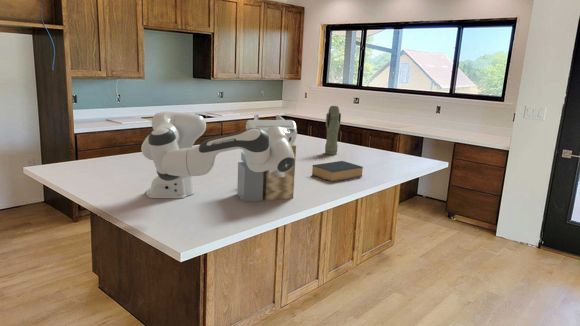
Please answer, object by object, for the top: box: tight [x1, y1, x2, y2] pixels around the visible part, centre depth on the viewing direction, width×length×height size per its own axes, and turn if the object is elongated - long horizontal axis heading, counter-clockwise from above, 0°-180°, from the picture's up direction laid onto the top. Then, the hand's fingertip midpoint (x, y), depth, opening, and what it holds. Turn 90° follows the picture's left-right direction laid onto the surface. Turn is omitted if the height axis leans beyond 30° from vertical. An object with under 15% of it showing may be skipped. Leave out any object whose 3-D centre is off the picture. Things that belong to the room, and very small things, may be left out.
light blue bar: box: [240, 151, 263, 173], centre depth 205 cm, size 4×26×4 cm, turn 20°
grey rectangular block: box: [236, 161, 263, 203], centre depth 208 cm, size 9×13×16 cm
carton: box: [262, 143, 297, 201], centre depth 212 cm, size 14×12×26 cm
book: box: [311, 160, 364, 182], centre depth 257 cm, size 17×25×7 cm
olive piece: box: [324, 105, 342, 156], centre depth 316 cm, size 9×12×35 cm
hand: (266, 116), depth 179 cm, fingers open, 8 cm apart
